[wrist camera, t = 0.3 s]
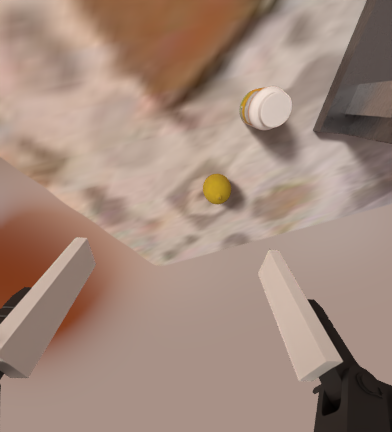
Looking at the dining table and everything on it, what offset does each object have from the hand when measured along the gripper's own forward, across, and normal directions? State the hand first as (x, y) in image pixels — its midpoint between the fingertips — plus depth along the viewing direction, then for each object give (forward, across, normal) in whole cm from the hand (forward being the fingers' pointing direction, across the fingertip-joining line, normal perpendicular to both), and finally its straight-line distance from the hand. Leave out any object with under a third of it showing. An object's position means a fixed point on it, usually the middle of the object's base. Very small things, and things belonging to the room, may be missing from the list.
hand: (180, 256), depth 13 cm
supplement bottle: (+27, +11, +10) cm, 30 cm away
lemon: (+27, +6, -4) cm, 28 cm away
